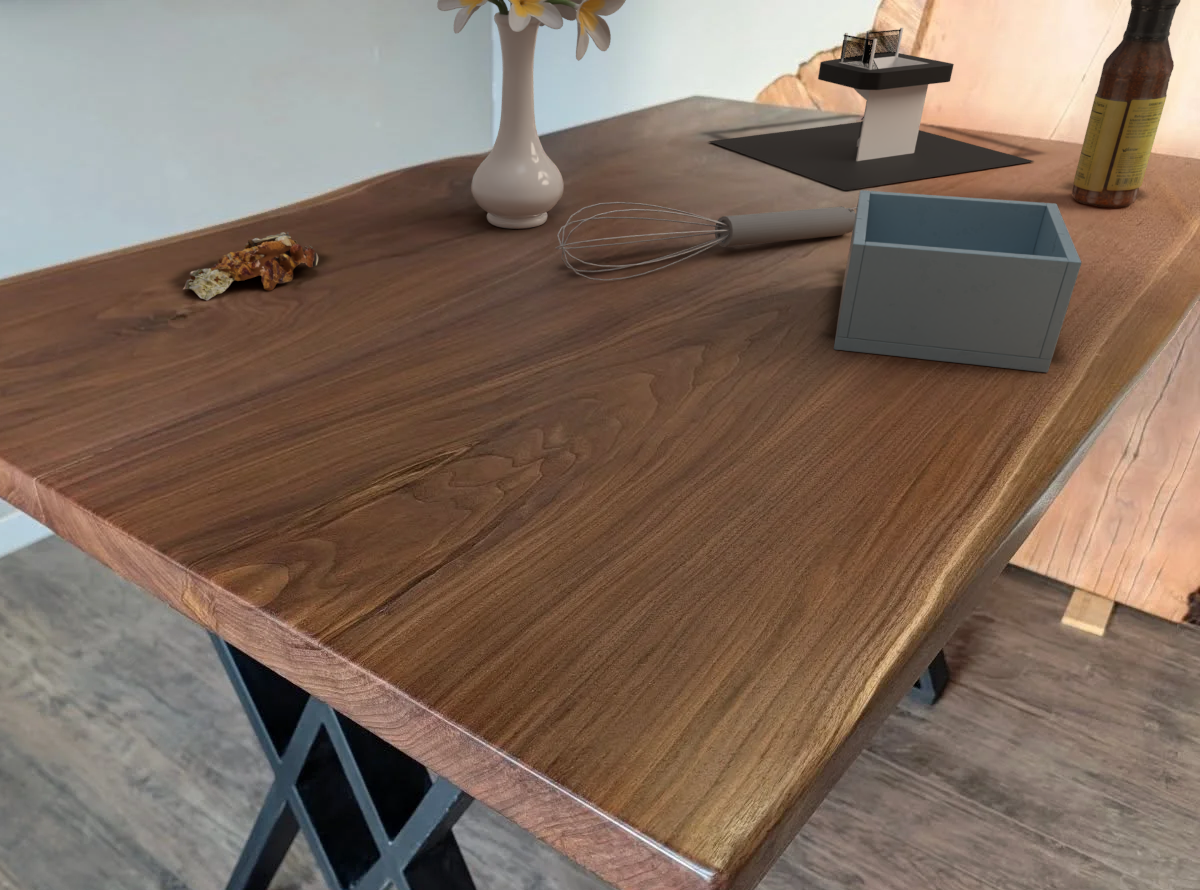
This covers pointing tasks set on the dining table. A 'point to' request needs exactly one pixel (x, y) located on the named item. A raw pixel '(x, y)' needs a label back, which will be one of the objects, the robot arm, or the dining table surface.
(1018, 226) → the open box
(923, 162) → the black-topped pedestal
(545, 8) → the flower vase
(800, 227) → the kitchen whisk
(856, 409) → the dining table surface
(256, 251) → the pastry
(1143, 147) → the sauce bottle
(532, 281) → the dining table surface
